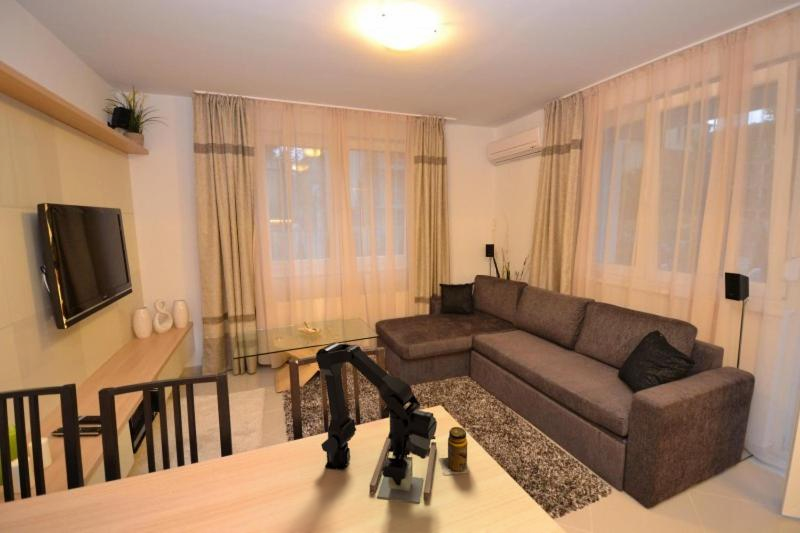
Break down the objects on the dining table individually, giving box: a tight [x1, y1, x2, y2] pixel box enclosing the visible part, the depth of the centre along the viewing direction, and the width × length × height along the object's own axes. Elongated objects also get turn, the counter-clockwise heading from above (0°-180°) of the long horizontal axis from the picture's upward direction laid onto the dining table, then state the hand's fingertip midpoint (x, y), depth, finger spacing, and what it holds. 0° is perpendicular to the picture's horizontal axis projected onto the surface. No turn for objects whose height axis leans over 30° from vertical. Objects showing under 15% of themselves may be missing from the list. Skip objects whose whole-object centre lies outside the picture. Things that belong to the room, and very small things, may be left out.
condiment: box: [438, 426, 472, 476], centre depth 112 cm, size 7×8×12 cm
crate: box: [388, 454, 414, 491], centre depth 104 cm, size 6×6×6 cm
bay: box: [369, 435, 437, 501], centre depth 113 cm, size 17×24×5 cm
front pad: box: [376, 475, 424, 504], centre depth 104 cm, size 12×9×1 cm
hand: (400, 476), depth 104 cm, fingers closed on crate, 6 cm apart
